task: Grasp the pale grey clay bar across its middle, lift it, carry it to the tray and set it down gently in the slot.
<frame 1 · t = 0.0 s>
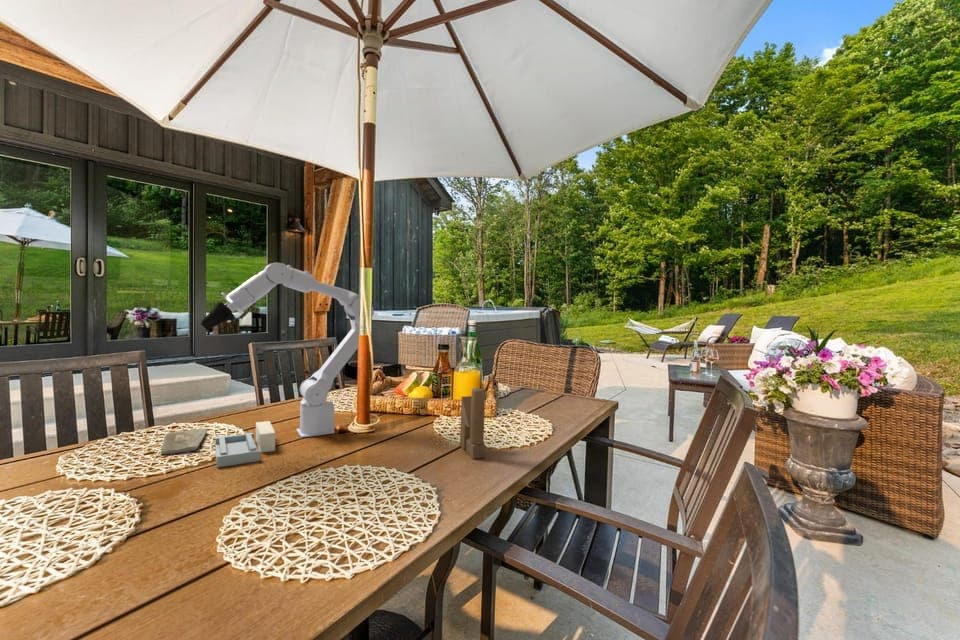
hand: (203, 326, 112), 32 cm above the table, tool tilted 50°, fingers open, 7 cm apart
stone: (184, 445, 117), on the table
clay bar: (265, 445, 117), on the table
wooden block: (472, 452, 117), on the table
tray: (236, 453, 110), on the table
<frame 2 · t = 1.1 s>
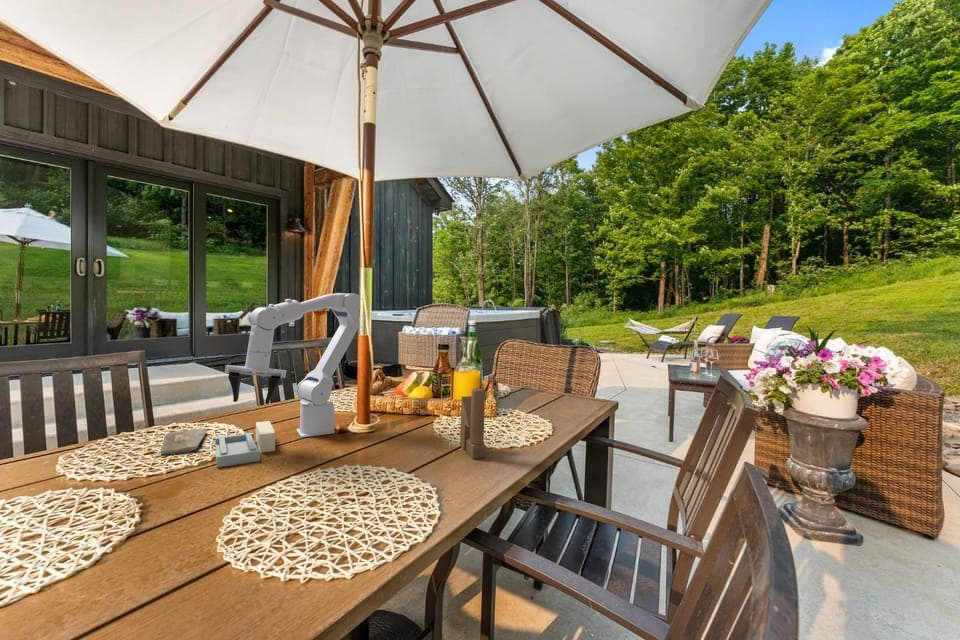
hand: (251, 402, 115), 12 cm above the table, tool pointing down, fingers open, 7 cm apart
nothing on the table moved.
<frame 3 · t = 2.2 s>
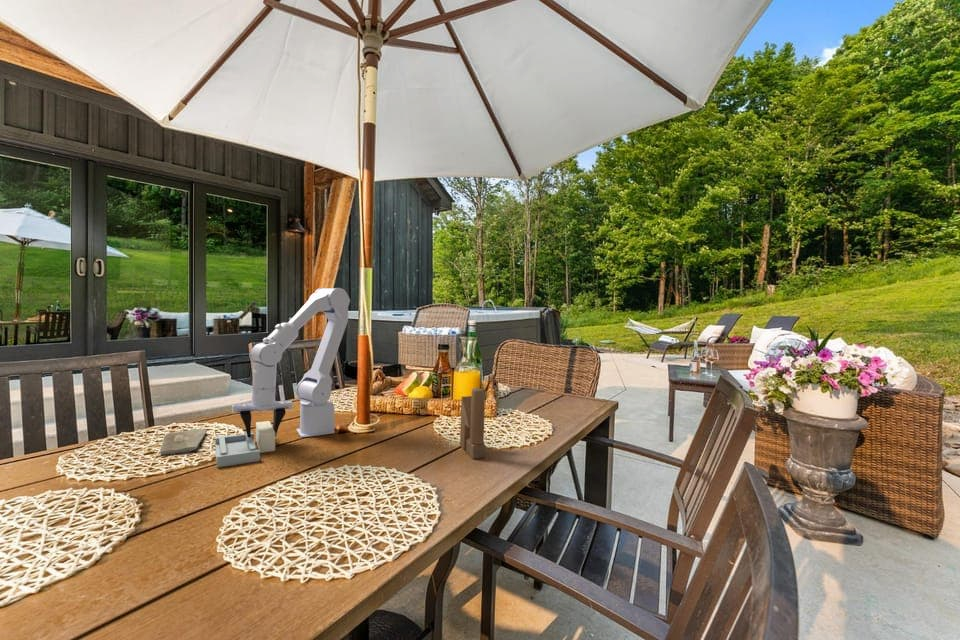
hand: (261, 437, 117), 2 cm above the table, tool pointing down, fingers open, 6 cm apart
nothing on the table moved.
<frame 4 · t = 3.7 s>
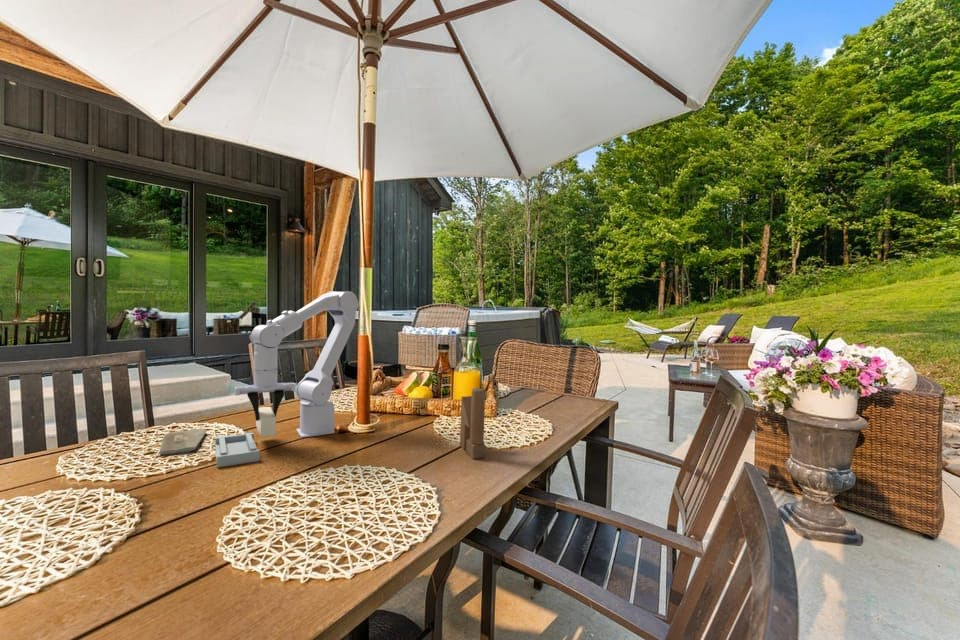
hand: (265, 418, 117), 7 cm above the table, tool pointing down, fingers closed on clay bar, 3 cm apart
clay bar: (265, 430, 117), point 4 cm above the table, touching gripper
everything else where it was.
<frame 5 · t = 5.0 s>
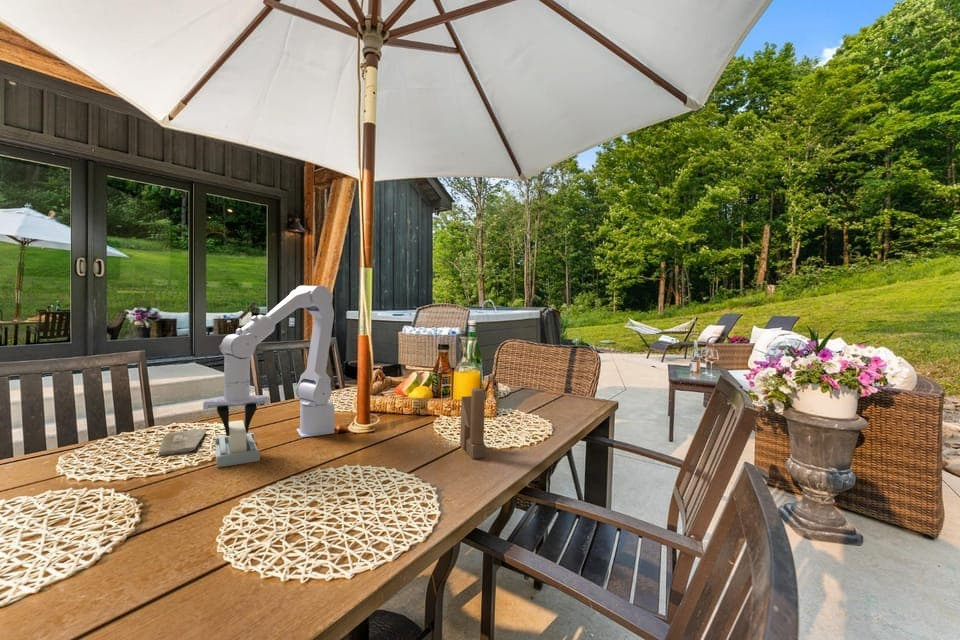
hand: (236, 433, 110), 5 cm above the table, tool pointing down, fingers closed on clay bar, 3 cm apart
clay bar: (236, 446, 110), point 2 cm above the table, touching gripper
everything else where it was.
when the fingers open (3 cm above the table, at t = 5.7 s): clay bar stays where it is, resting on tray.
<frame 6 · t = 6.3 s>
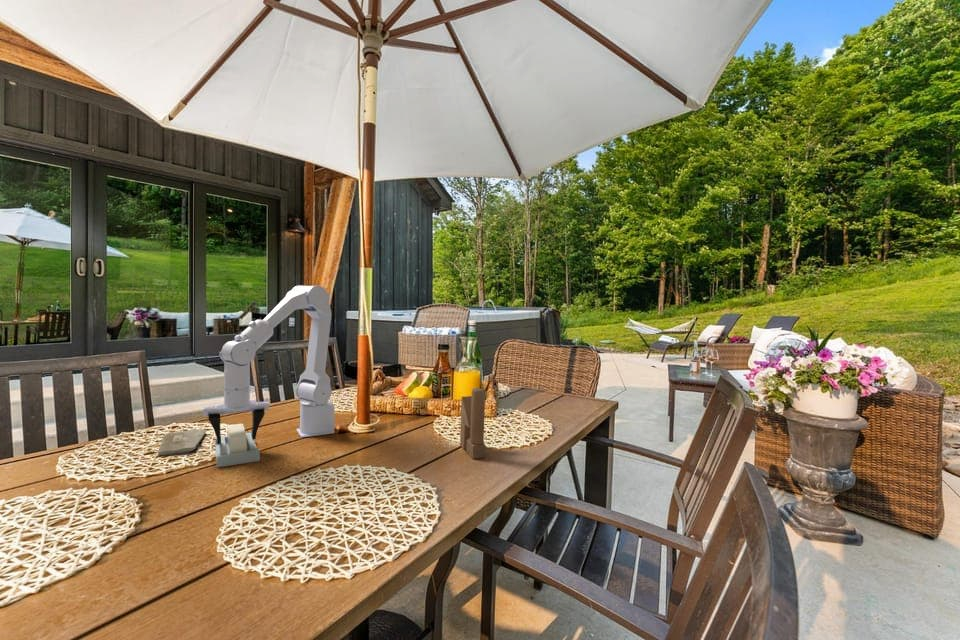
hand: (236, 440, 110), 3 cm above the table, tool pointing down, fingers open, 7 cm apart
clay bar: (236, 449, 110), point 1 cm above the table, touching tray
everything else where it was.
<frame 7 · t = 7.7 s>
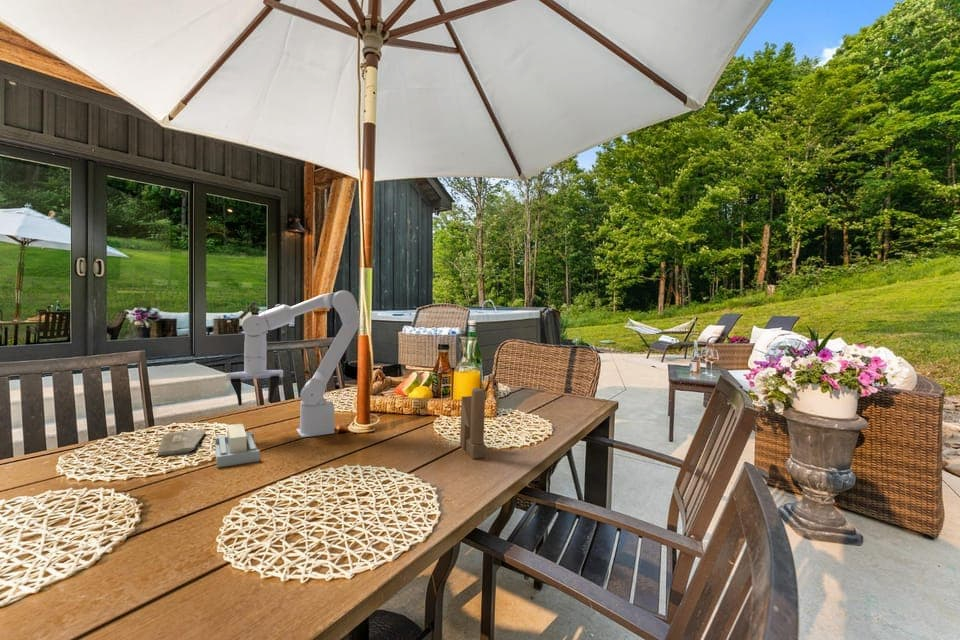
hand: (255, 403, 124), 9 cm above the table, tool pointing down, fingers open, 7 cm apart
nothing on the table moved.
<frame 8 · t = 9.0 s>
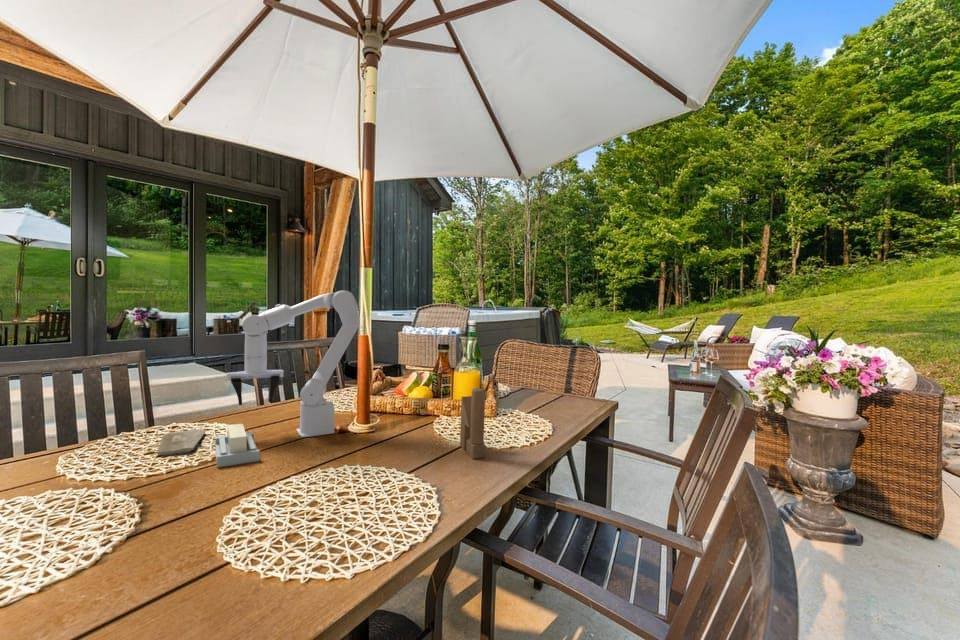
hand: (255, 403, 124), 9 cm above the table, tool pointing down, fingers open, 7 cm apart
nothing on the table moved.
at the end: clay bar 0.0 cm off-centre on the tray, point 1.0 cm above the tray's base; clay bar tilted 0°; the gripper is holding nothing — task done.
